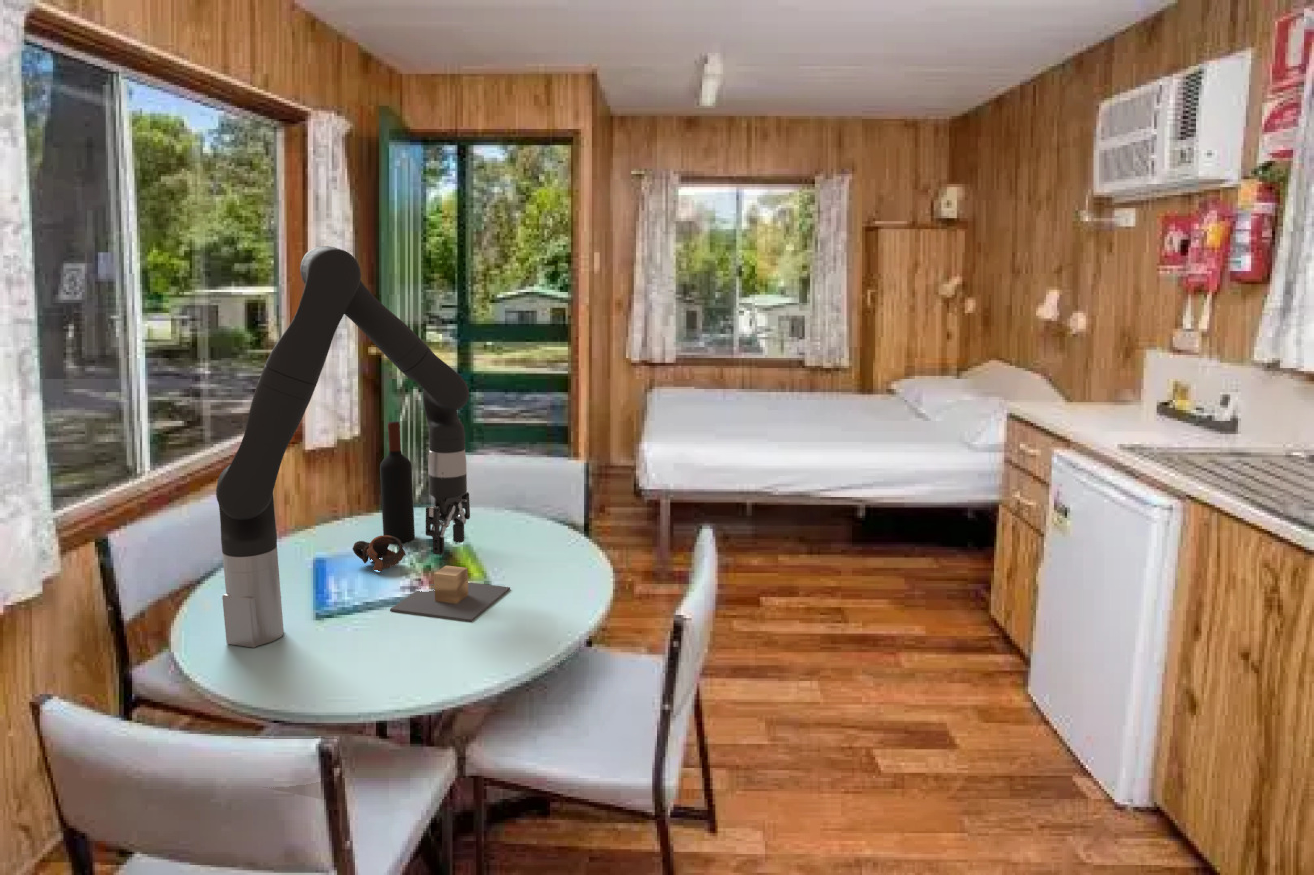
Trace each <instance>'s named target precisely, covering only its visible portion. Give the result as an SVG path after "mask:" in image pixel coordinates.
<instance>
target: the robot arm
mask: <svg viewBox="0 0 1314 875" xmlns="http://www.w3.org/2000/svg"><path fill="white" fill-rule="evenodd" d="M299 271H300V275H301V279H302V281H303V283H304V289H303V292H302V296H301V299H300V300H299V305H298V308H297V310H296V313H295V315H294V317H293V318H292V320H291V322H290V324H289V326H288V327H287V328H286V329H285V331H284V332H283V333H282V335H281V337H280V338H279V339H278V341H277V342H276V344H275V345H274V346H273V348H272V350H271V351H270V354H269V355H268V357H267V360H266V362H265V363H264V366H263V369H262V371H261V374H260V376H259V378H258V381H257V385H256V386H255V390H254V394H253V396H252V401H251V404H250V408H249V412H248V417H247V421H246V426H245V431H244V434H243V436H242V439H241V442H240V444H239V447H238V449H237V451H236V453H235V455H234V457H233V458H232V461H231V463H230V464H229V465H227V466H226V467H225V468H224V469H223V470H222V472H221V473H220V474H219V476H218V479H217V483H216V491H215V497H216V501H217V503H218V509H219V510H218V511H219V522H220V544H221V552H222V562H223V563H222V564H223V574H224V583H225V584H224V585H225V593H224V594H223V595H222V596H221V600H222V608H223V618H224V621H223V622H224V629H225V631H224V632H225V641H226V644H227V645H234V646H241V647H246V648H254V649H255V648H257V647H258V646H262V645H266V644H269V643H272V642H274V641H276V640H278V639H279V638H281V637H282V636H283V635H284V633H285V629H284V616H283V606H282V605H283V604H282V592H281V581H280V580H281V578H280V568H279V566H280V565H279V555H278V554H279V552H278V542H277V540H278V538H277V524H276V515H275V514H276V512H275V501H274V489H275V486H276V483H277V482H276V481H277V478H278V475H279V471H280V467H281V464H282V461H283V460H284V456H285V453H286V451H287V449H288V447H289V444H290V442H291V441H292V439H293V437H294V435H295V433H296V431H297V429H298V428H299V426H300V423H301V421H302V419H303V417H304V415H305V413H306V411H307V408H308V407H309V404H310V402H311V399H312V397H313V395H314V392H315V390H316V387H317V385H318V382H319V379H320V376H321V374H322V371H323V368H324V365H325V362H326V360H327V357H328V354H329V351H330V348H331V347H332V346H331V345H332V342H333V339H334V336H335V333H336V331H337V329H338V327H339V324H340V322H341V321H342V319H343V317H344V315H345V316H346V317H347V318H348V319H349V320H351V321H352V322H353V323H354V324H355V325H356V327H358V328H359V329H360V330H361V332H362V333H363V334H365V335H366V336H367V338H369V340H370V341H371V342H372V343H373V344H374V345H375V346H376V347H377V348H378V349H379V351H380V352H382V353H383V355H384V356H385V357H386V358H387V359H388V360H389V361H390V362H391V363H392V365H394V366H395V367H396V368H397V369H398V370H399V371H400V372H401V373H402V374H403V375H405V377H407V378H408V379H410V380H412V381H413V382H415V383H417V384H418V385H419V386H420V387H421V388H422V399H423V406H424V411H425V417H426V421H427V424H428V447H429V448H428V449H429V450H428V460H427V465H428V467H427V468H428V470H427V471H428V493H429V495H430V496H432V497H433V498H434V506H433V505H432V506H429V505H428V506H427V505H426V507H425V536H428V537H431V538H432V553H433V555H437V556H442V555H444V554H445V533H446V530H447V528H449V527H450V523H451V522H453V524H452V532H453V533H452V535H453V536H452V538H453V539H452V540H453V542H454V543H460V544H462V543H463V542H465V525H466V523H467V520H469V519H470V518H471V507H470V493H469V492H468V488H467V486H468V482H467V481H468V480H467V479H468V478H467V474H468V473H467V472H468V471H467V456H466V433H465V431H466V430H465V426H464V424H463V422H462V421H461V420H460V418H459V414H458V410H460V409H462V408H464V407H465V405H467V403H468V401H469V397H470V390H469V387H468V384H467V383H466V381H465V380H464V378H463V377H462V376H461V375H460V374H459V373H458V372H457V371H455V370H454V369H453V368H452V367H451V366H449V365H448V363H446V362H445V361H443V360H442V359H441V358H440V357H438V356H437V355H436V354H435V353H434V352H433V351H432V349H430V347H429V346H428V345H427V344H426V343H425V342H424V340H422V339H421V337H419V335H417V333H416V332H414V331H413V330H412V328H410V327H409V326H408V325H407V324H406V323H405V322H403V321H402V320H401V319H400V318H399V317H398V316H396V314H394V313H393V312H392V311H391V310H389V309H388V308H387V307H386V306H385V305H384V304H383V303H381V302H380V301H379V300H378V299H377V297H375V295H374V294H372V292H371V291H370V290H369V289H368V288H367V286H365V284H364V283H363V282H362V280H361V278H362V274H361V271H362V270H361V268H360V264H359V262H358V260H357V259H356V258H355V257H354V256H353V254H351V253H350V252H348V251H346V250H344V249H341V248H337V247H335V246H328V245H322V246H321V245H320V246H317V247H314V248H311V249H310V250H308V251H307V252H306V253H305V254H304V256H303V258H302V260H301V262H300V270H299ZM431 526H432V527H431Z"/></svg>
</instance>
